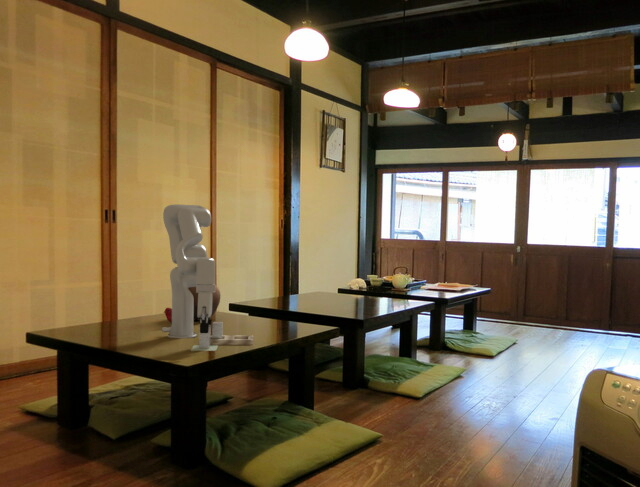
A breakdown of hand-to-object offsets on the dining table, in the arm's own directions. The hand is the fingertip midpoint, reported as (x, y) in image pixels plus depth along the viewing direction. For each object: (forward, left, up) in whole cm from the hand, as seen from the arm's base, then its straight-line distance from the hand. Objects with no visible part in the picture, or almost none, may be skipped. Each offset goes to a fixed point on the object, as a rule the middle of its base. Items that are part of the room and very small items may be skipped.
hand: (205, 331), depth 218 cm
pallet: (+9, +12, -8) cm, 16 cm away
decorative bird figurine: (-19, +53, -8) cm, 57 cm away
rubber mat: (0, +1, -8) cm, 8 cm away
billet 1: (0, +1, -7) cm, 7 cm away
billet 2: (+4, +12, -8) cm, 14 cm away
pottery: (-12, +73, -8) cm, 74 cm away
